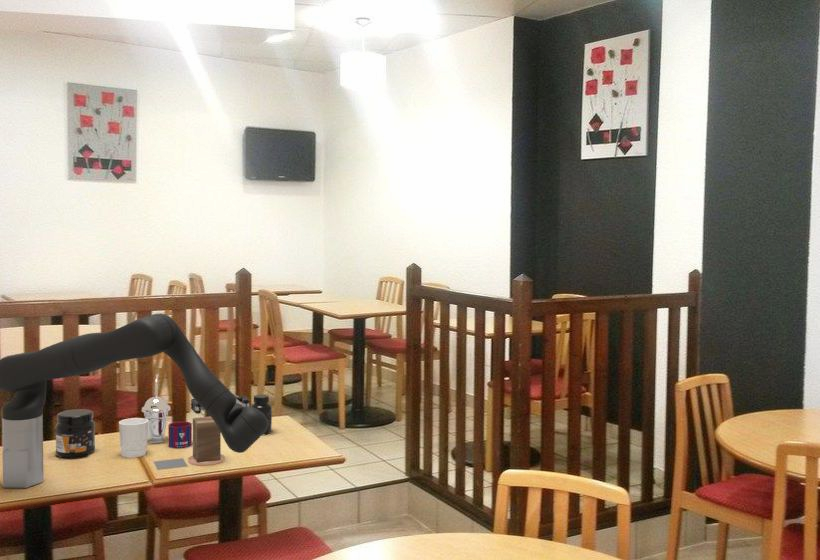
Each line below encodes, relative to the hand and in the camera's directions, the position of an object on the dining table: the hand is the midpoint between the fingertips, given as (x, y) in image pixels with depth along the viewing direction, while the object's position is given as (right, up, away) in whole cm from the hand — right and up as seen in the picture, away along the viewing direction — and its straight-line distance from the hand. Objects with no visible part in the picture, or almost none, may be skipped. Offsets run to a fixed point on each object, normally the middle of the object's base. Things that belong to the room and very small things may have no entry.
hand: (214, 397), depth 207 cm
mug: (-17, -19, +27) cm, 37 cm away
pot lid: (-5, -20, +11) cm, 23 cm away
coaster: (-14, -20, +7) cm, 25 cm away
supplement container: (-44, -19, +16) cm, 51 cm away
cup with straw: (-25, -18, +31) cm, 44 cm away
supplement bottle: (+4, -18, +42) cm, 46 cm away
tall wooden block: (-5, -19, +11) cm, 22 cm away
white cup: (-27, -19, +16) cm, 37 cm away
